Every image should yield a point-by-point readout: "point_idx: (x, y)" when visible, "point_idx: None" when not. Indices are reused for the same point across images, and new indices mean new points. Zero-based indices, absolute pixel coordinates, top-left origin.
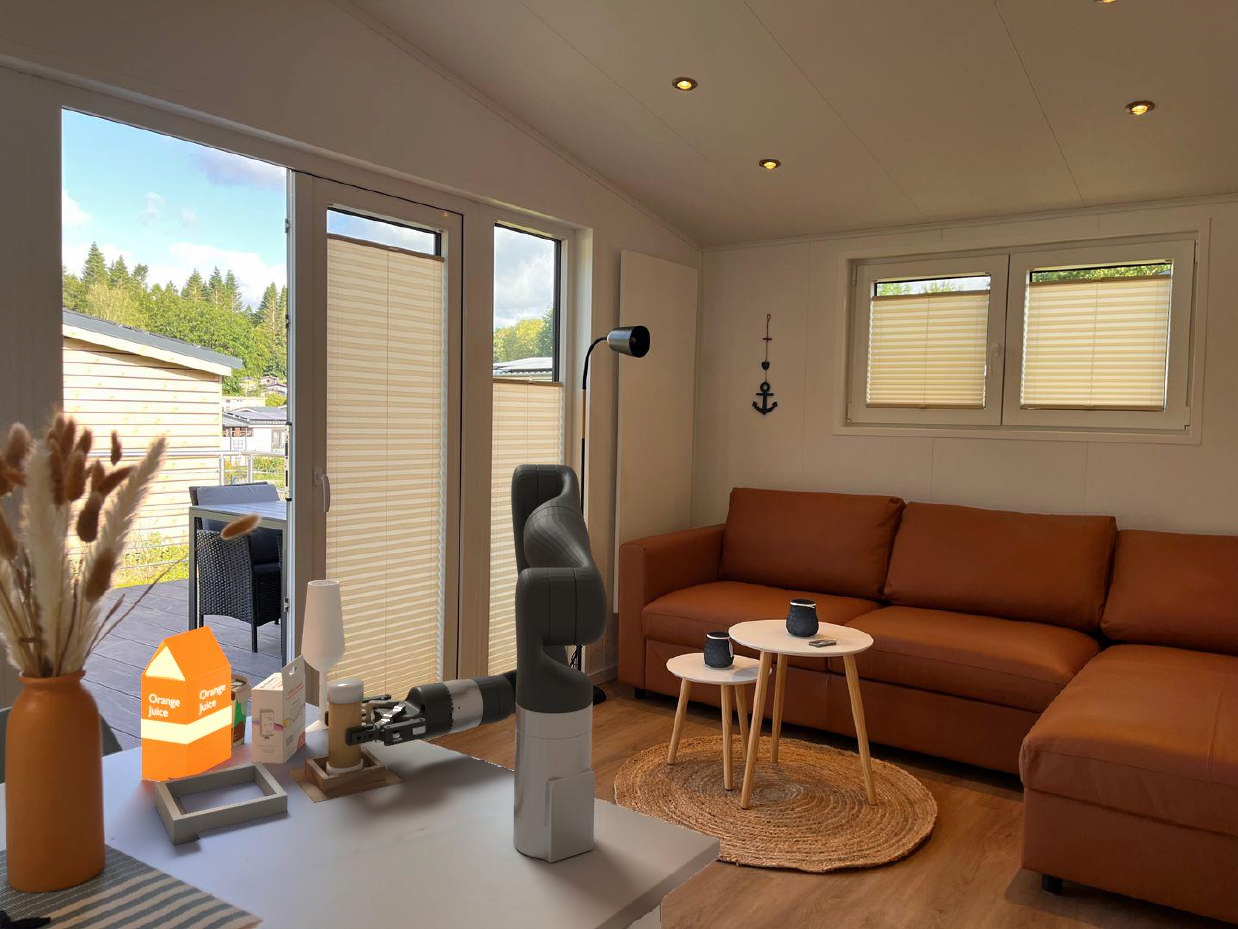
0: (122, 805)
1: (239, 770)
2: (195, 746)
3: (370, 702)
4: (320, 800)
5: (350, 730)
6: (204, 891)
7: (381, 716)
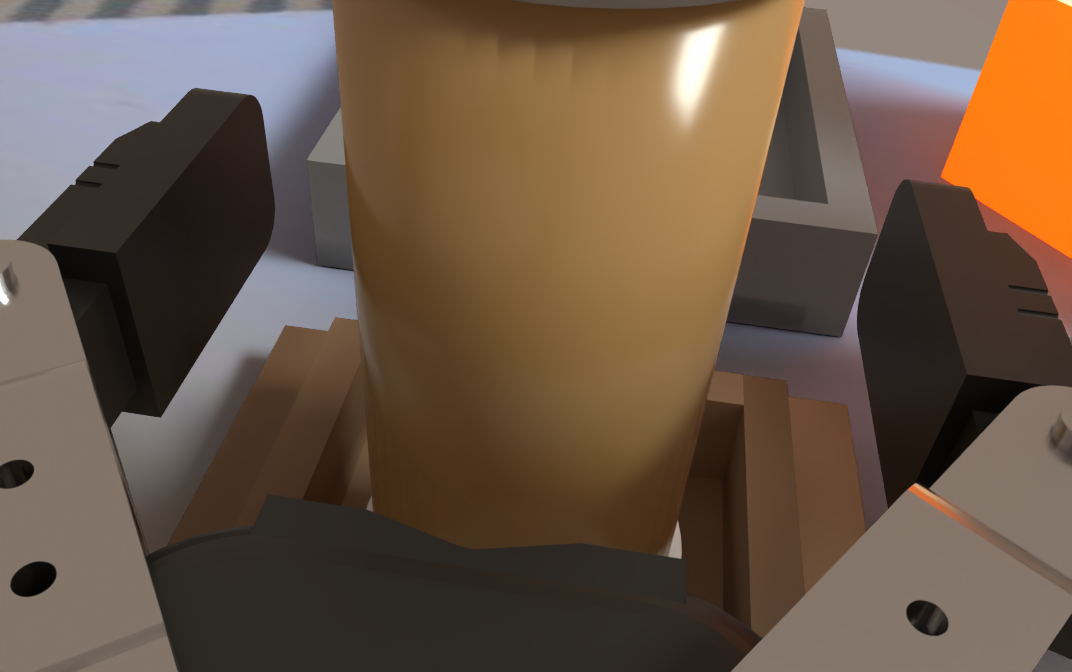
0: (859, 62)
1: (819, 172)
2: (1051, 37)
3: (927, 524)
4: (280, 351)
5: (184, 101)
6: (78, 19)
7: (324, 514)
